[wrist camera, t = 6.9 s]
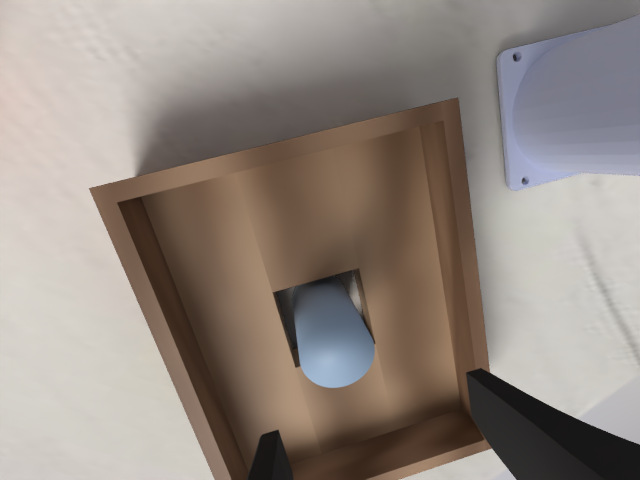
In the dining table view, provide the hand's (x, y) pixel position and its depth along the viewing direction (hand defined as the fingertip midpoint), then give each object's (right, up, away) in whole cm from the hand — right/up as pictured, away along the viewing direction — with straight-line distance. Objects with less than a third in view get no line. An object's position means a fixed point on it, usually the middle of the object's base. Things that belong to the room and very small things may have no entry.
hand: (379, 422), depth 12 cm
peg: (-2, +3, +9) cm, 9 cm away
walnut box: (-2, +3, +9) cm, 9 cm away
